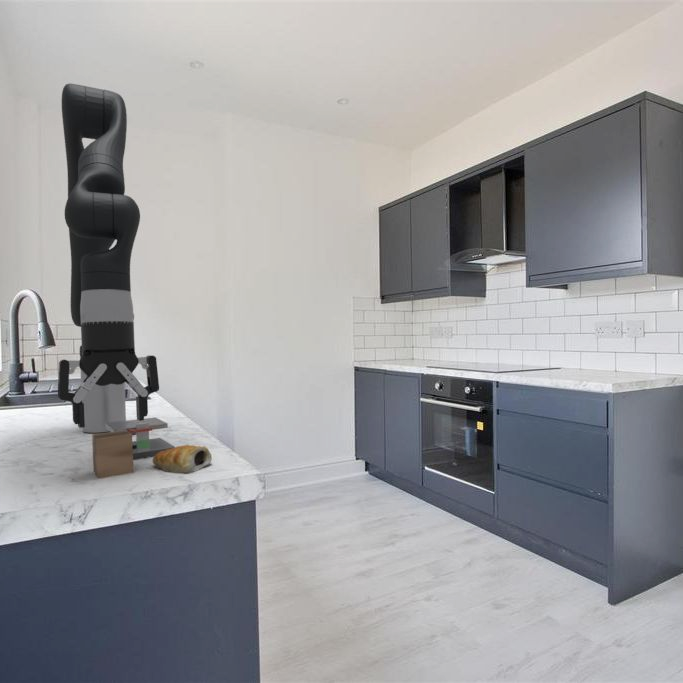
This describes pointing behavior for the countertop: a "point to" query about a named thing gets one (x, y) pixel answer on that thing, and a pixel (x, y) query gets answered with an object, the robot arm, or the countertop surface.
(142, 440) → the base
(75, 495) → the countertop surface
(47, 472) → the countertop surface
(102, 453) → the walnut block
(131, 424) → the pan
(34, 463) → the countertop surface
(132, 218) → the robot arm
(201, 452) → the pastry
